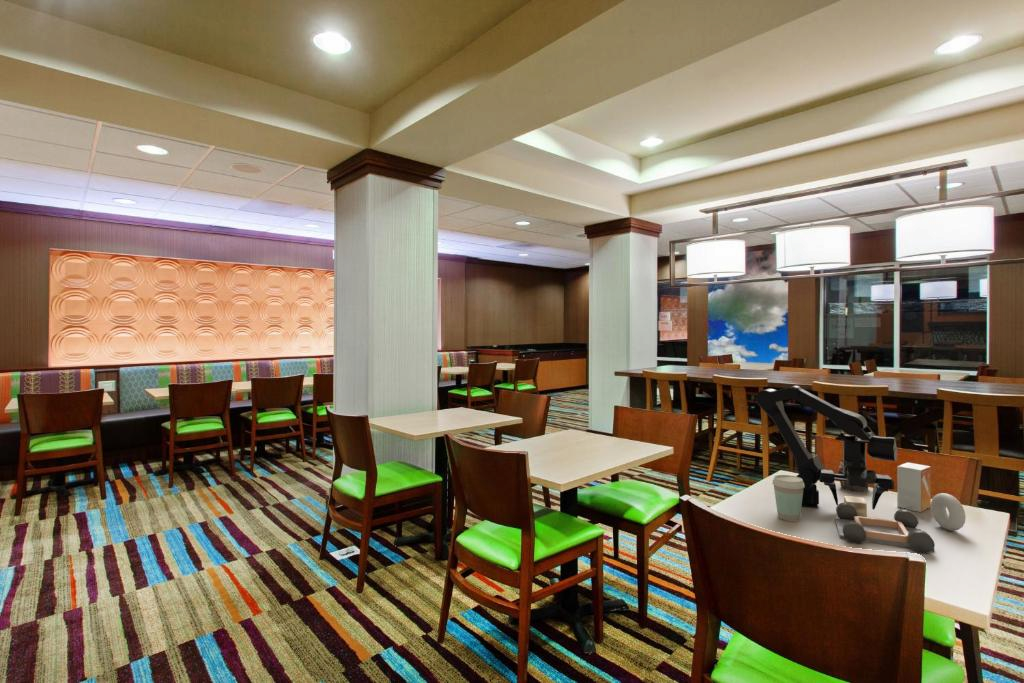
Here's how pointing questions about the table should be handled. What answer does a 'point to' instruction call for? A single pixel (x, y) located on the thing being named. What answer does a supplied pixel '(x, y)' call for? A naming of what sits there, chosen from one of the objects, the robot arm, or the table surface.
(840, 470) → the cupcake
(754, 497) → the table surface
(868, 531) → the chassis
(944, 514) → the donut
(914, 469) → the small box
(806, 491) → the robot arm
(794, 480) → the coffee cup
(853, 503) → the tan wooden block
